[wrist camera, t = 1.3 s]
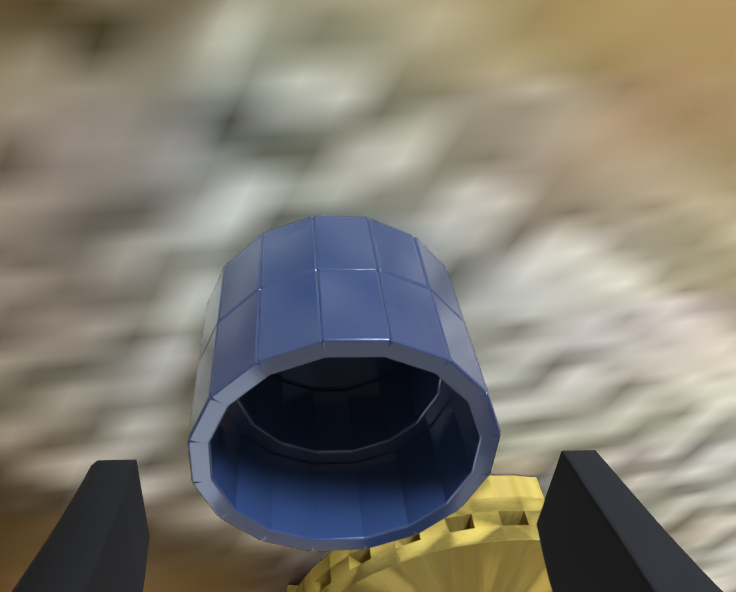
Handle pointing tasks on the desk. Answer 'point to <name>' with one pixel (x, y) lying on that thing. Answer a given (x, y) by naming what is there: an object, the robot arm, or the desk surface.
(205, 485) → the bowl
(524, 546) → the gold flat disc
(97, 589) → the robot arm
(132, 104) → the desk surface
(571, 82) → the desk surface
